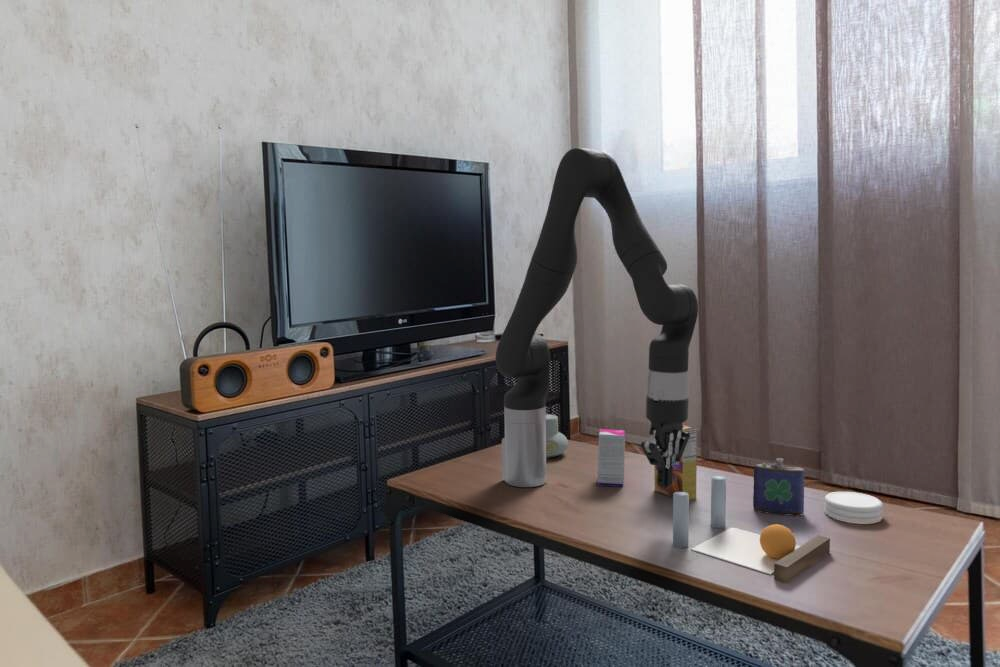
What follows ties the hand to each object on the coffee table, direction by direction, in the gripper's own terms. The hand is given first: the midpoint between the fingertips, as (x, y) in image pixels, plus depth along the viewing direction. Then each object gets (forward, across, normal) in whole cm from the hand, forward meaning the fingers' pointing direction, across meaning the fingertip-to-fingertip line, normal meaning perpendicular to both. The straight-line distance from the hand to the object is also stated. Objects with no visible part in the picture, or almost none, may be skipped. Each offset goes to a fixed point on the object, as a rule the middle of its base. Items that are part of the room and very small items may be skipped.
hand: (664, 486), depth 133 cm
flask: (+7, -21, +12) cm, 25 cm away
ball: (+4, 0, +22) cm, 22 cm away
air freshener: (+9, -21, -49) cm, 54 cm away
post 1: (+7, +6, +8) cm, 12 cm away
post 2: (+7, -6, +8) cm, 12 cm away
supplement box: (+8, -14, -23) cm, 28 cm away
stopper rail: (+7, 0, +26) cm, 27 cm away
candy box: (+8, -16, -8) cm, 19 cm away
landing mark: (+7, 0, +17) cm, 19 cm away
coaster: (+7, -29, +23) cm, 38 cm away
